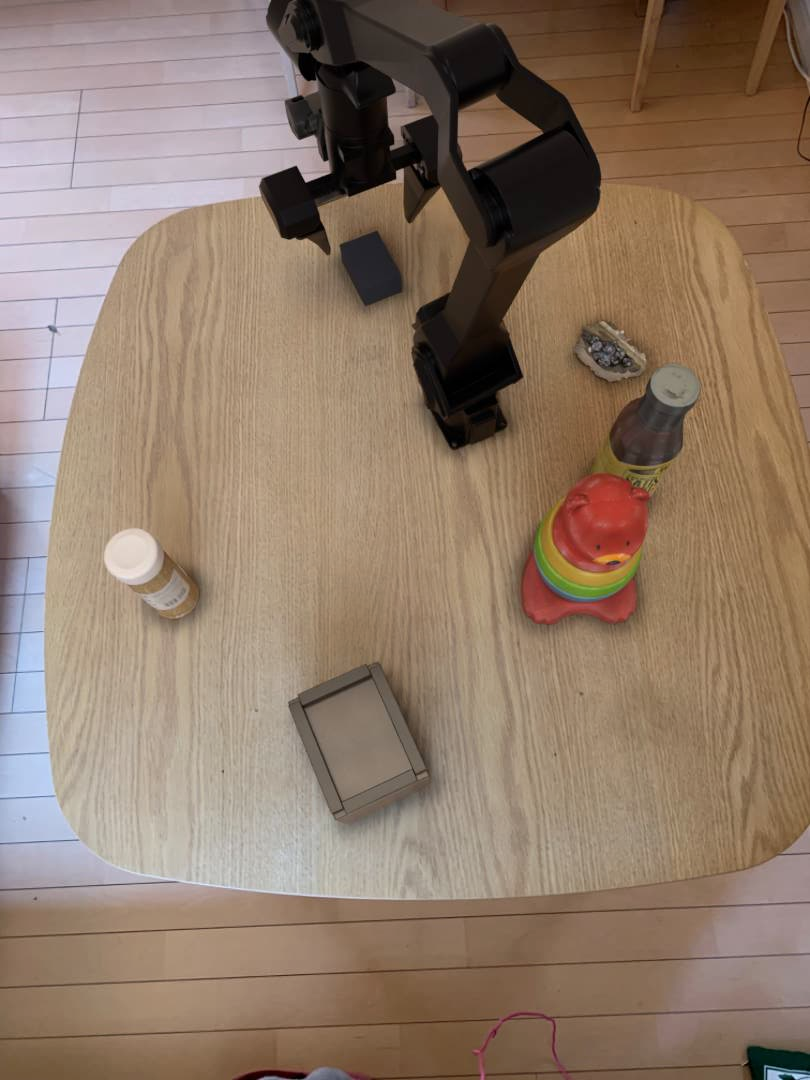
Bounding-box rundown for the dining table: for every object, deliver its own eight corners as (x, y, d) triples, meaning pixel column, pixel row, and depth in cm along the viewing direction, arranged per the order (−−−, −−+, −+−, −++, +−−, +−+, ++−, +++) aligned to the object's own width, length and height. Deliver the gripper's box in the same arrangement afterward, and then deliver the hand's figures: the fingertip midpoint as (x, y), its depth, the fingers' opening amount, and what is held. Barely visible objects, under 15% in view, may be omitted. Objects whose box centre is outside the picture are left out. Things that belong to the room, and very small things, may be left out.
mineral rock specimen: (588, 315, 92) (591, 305, 90) (658, 343, 90) (663, 333, 88) (563, 364, 90) (566, 355, 88) (635, 393, 88) (639, 384, 86)
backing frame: (305, 719, 78) (285, 699, 67) (384, 683, 79) (377, 658, 68) (347, 824, 74) (333, 820, 64) (430, 785, 75) (429, 775, 65)
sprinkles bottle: (190, 567, 83) (146, 517, 71) (206, 608, 82) (165, 563, 69) (146, 587, 83) (94, 540, 70) (162, 628, 81) (112, 587, 68)
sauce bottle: (606, 530, 83) (657, 437, 65) (573, 478, 85) (613, 374, 66) (663, 500, 84) (729, 401, 65) (629, 450, 86) (683, 340, 67)
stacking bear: (522, 625, 80) (546, 566, 63) (516, 525, 84) (537, 444, 67) (637, 624, 80) (691, 564, 63) (627, 523, 83) (675, 441, 67)
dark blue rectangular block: (341, 262, 95) (339, 244, 92) (378, 248, 96) (377, 229, 93) (365, 306, 93) (362, 289, 90) (402, 291, 93) (401, 274, 91)
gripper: (414, 16, 77) (417, 150, 92) (221, 85, 75) (256, 211, 89) (467, 100, 73) (462, 225, 88) (267, 175, 71) (295, 291, 86)
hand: (367, 236), depth 88 cm, fingers open, 9 cm apart
